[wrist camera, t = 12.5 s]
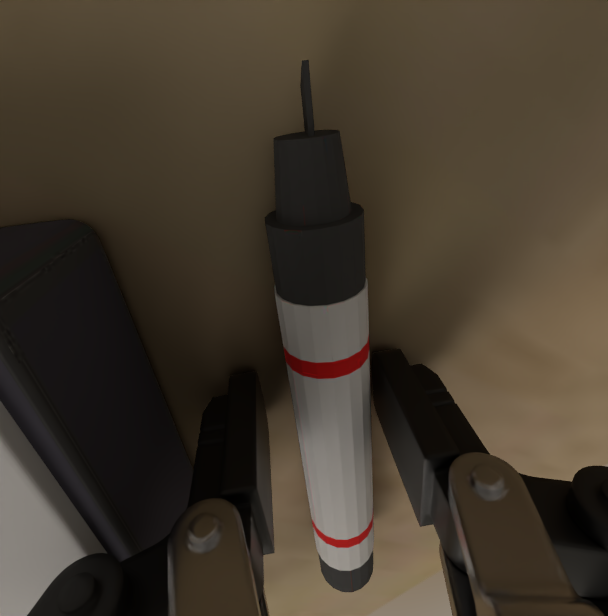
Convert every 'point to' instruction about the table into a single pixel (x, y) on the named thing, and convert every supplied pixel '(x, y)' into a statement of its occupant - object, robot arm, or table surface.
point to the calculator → (75, 416)
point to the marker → (326, 340)
